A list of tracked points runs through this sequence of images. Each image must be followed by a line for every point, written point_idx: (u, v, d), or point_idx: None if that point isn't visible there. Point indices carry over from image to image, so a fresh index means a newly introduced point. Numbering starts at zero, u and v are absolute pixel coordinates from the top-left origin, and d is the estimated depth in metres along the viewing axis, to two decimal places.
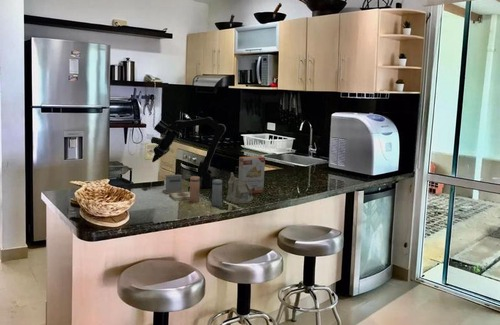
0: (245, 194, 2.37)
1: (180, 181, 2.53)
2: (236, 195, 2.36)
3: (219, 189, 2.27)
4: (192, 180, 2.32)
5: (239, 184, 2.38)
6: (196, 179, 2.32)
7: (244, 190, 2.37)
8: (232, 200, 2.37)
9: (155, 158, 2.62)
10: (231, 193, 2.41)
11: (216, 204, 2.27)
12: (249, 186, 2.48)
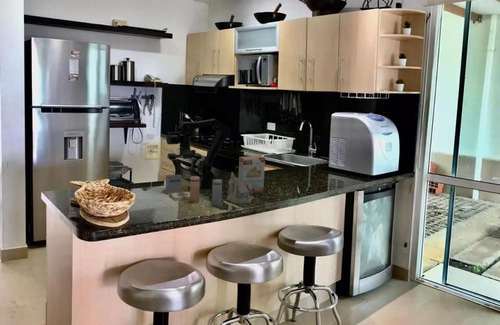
0: (245, 194, 2.37)
1: (180, 181, 2.53)
2: (236, 195, 2.36)
3: (219, 189, 2.27)
4: (192, 180, 2.32)
5: (239, 184, 2.37)
6: (196, 179, 2.32)
7: (244, 190, 2.37)
8: (232, 200, 2.37)
9: None
10: (231, 193, 2.41)
11: (216, 204, 2.27)
12: (249, 186, 2.48)
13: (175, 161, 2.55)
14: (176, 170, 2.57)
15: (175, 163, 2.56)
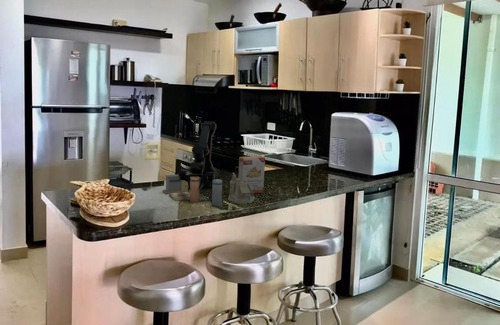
0: (247, 194, 2.37)
1: (180, 181, 2.53)
2: (238, 195, 2.36)
3: (219, 189, 2.27)
4: (192, 180, 2.32)
5: (241, 184, 2.37)
6: (196, 179, 2.32)
7: (246, 190, 2.36)
8: (234, 200, 2.36)
9: (202, 185, 2.35)
10: (233, 193, 2.40)
11: (216, 204, 2.27)
12: (251, 186, 2.47)
13: (188, 177, 2.36)
14: (189, 187, 2.34)
15: (188, 180, 2.35)
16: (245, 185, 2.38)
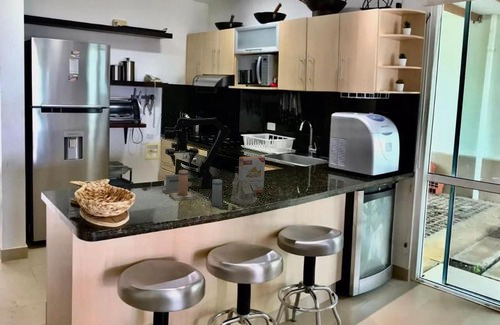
0: (250, 195, 2.35)
1: None
2: (241, 196, 2.34)
3: (219, 189, 2.27)
4: (179, 173, 2.39)
5: (244, 185, 2.36)
6: (183, 173, 2.39)
7: (249, 191, 2.35)
8: (237, 201, 2.35)
9: (172, 161, 2.61)
10: (236, 194, 2.39)
11: (216, 204, 2.27)
12: (253, 187, 2.46)
13: None
14: (189, 164, 2.67)
15: None
16: (248, 186, 2.37)
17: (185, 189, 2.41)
